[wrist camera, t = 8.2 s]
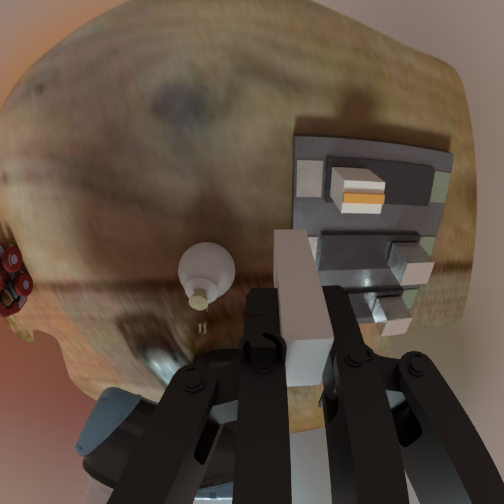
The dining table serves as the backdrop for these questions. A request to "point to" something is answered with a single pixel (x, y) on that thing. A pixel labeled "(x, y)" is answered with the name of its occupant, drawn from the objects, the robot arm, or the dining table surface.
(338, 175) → the knob
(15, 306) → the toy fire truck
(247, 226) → the dining table surface
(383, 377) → the robot arm
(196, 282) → the ornament
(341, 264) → the panel
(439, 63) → the dining table surface
